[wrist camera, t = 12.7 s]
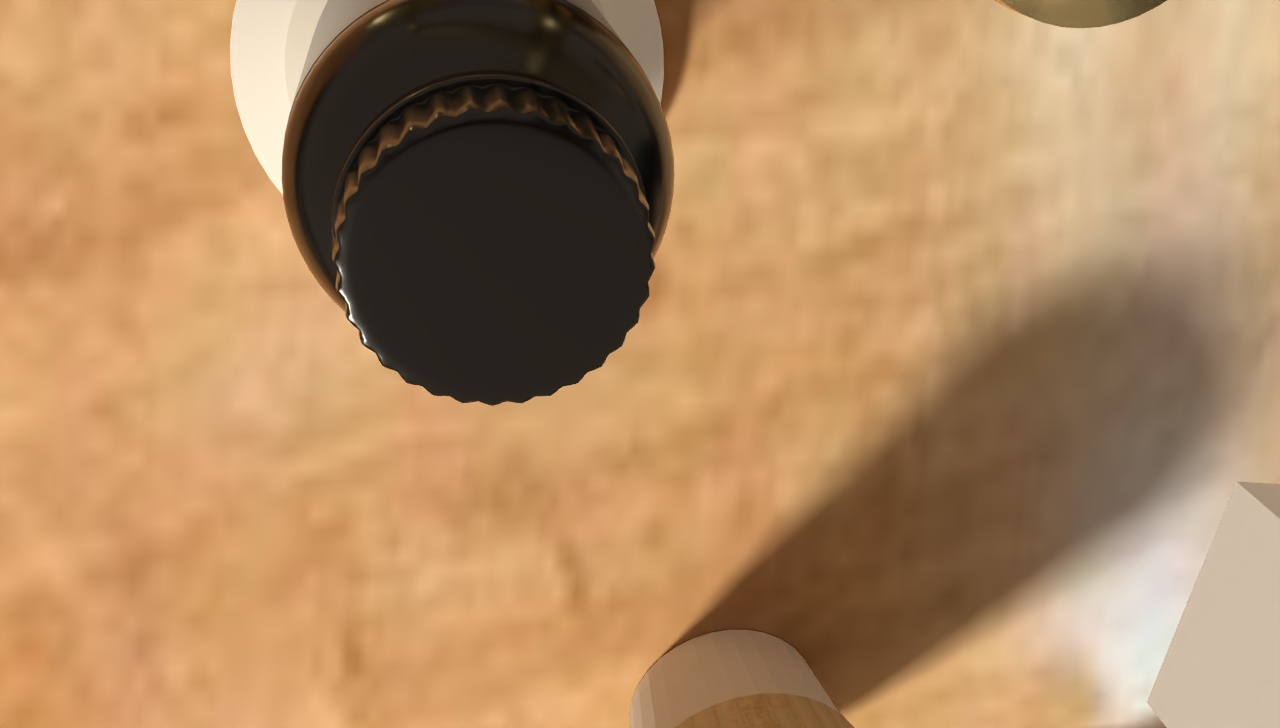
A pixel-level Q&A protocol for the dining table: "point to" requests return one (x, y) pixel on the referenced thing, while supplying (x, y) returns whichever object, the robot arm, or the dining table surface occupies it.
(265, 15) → the dish
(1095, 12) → the balance
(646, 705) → the coffee cup
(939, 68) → the dining table surface
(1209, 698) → the robot arm
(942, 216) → the dining table surface
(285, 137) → the supplement bottle
